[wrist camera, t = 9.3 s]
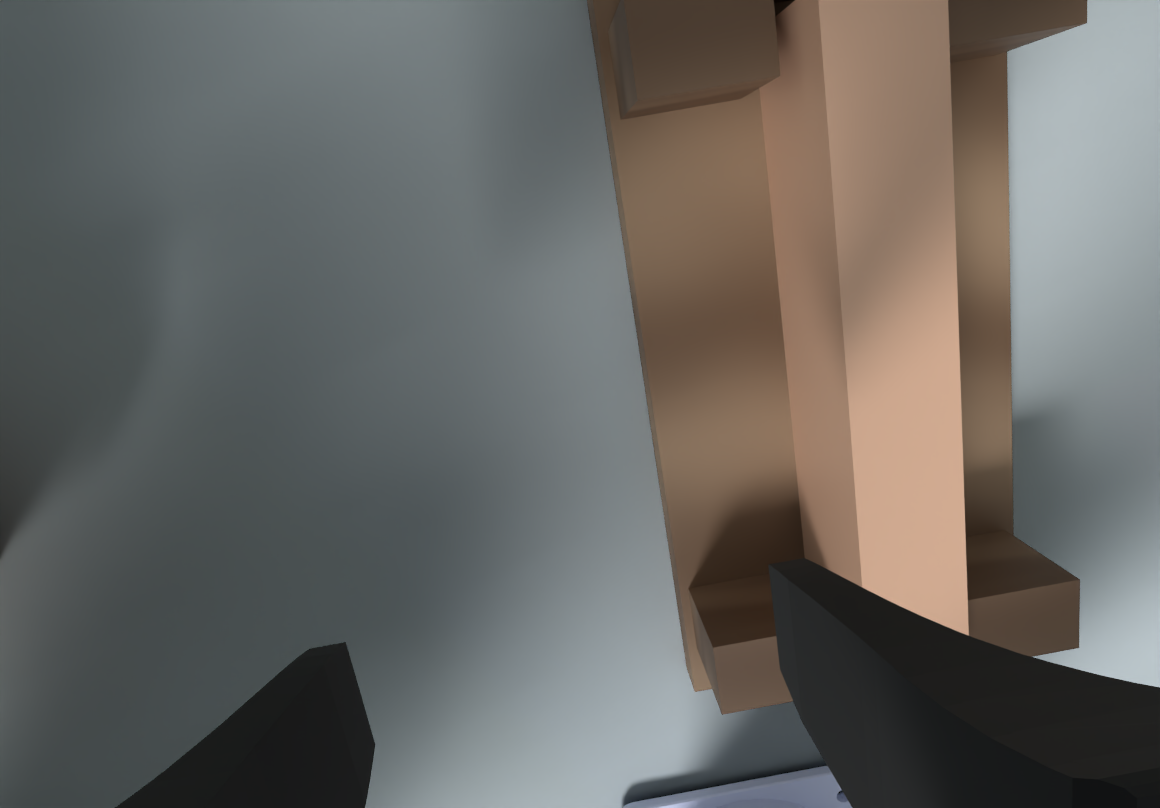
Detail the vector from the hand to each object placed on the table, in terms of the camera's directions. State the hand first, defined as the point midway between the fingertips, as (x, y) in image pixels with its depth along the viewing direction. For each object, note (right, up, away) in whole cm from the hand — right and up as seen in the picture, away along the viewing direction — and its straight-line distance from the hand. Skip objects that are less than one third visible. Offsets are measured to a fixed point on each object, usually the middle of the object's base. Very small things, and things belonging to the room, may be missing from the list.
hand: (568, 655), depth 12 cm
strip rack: (+7, +6, +9) cm, 13 cm away
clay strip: (+7, +6, +7) cm, 12 cm away
